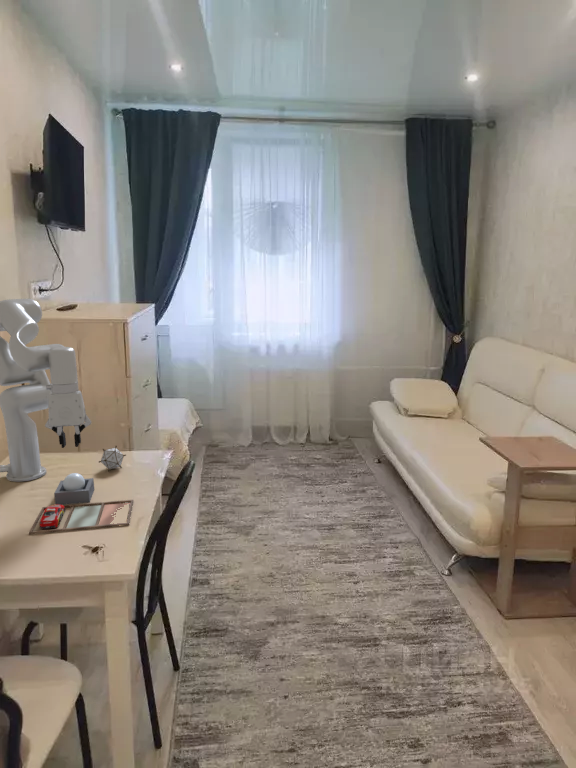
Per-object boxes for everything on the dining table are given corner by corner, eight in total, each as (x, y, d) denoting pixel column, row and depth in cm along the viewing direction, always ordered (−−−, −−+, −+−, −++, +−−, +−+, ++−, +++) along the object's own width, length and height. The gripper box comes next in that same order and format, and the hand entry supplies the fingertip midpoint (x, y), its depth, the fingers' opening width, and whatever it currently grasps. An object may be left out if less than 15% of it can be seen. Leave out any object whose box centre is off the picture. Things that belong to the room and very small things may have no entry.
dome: (62, 497, 169) (60, 478, 167) (66, 489, 175) (64, 470, 173) (84, 496, 170) (82, 476, 168) (87, 488, 176) (85, 469, 174)
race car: (48, 511, 163) (46, 499, 163) (67, 510, 164) (66, 497, 164) (36, 532, 151) (35, 519, 150) (57, 530, 152) (56, 517, 151)
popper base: (55, 505, 167) (54, 493, 166) (61, 492, 176) (60, 480, 175) (89, 502, 169) (88, 490, 168) (94, 489, 178) (93, 478, 177)
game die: (108, 480, 196) (88, 460, 193) (120, 464, 203) (101, 445, 200) (123, 472, 191) (103, 452, 188) (135, 456, 198) (116, 436, 195)
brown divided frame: (28, 534, 149) (28, 532, 149) (42, 509, 164) (42, 507, 164) (129, 525, 154) (129, 523, 154) (133, 501, 169) (133, 499, 169)
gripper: (32, 392, 160) (39, 451, 164) (91, 389, 163) (96, 448, 167) (39, 386, 167) (45, 444, 171) (95, 384, 170) (100, 440, 174)
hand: (70, 445), depth 169 cm, fingers open, 3 cm apart
